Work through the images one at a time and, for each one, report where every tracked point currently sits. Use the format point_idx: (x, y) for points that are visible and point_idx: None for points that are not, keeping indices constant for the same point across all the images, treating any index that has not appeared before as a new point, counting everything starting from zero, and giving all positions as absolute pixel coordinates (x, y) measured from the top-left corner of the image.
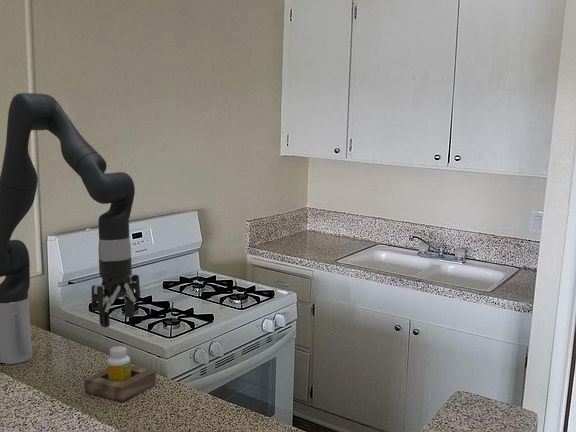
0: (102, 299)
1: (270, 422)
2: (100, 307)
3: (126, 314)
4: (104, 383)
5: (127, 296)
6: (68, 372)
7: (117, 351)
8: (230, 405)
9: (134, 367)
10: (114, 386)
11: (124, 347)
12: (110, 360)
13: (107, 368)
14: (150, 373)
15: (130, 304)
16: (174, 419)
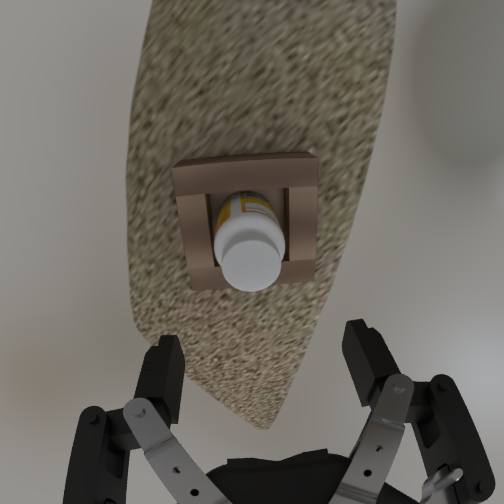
0: (121, 489)
1: (266, 424)
2: (111, 453)
3: (350, 331)
4: (184, 238)
5: (355, 445)
6: (257, 14)
7: (230, 283)
8: (286, 388)
9: (310, 222)
10: (188, 268)
11: (273, 274)
12: (218, 247)
13: (267, 160)
14: (295, 282)
15: (361, 397)
16: (205, 367)
